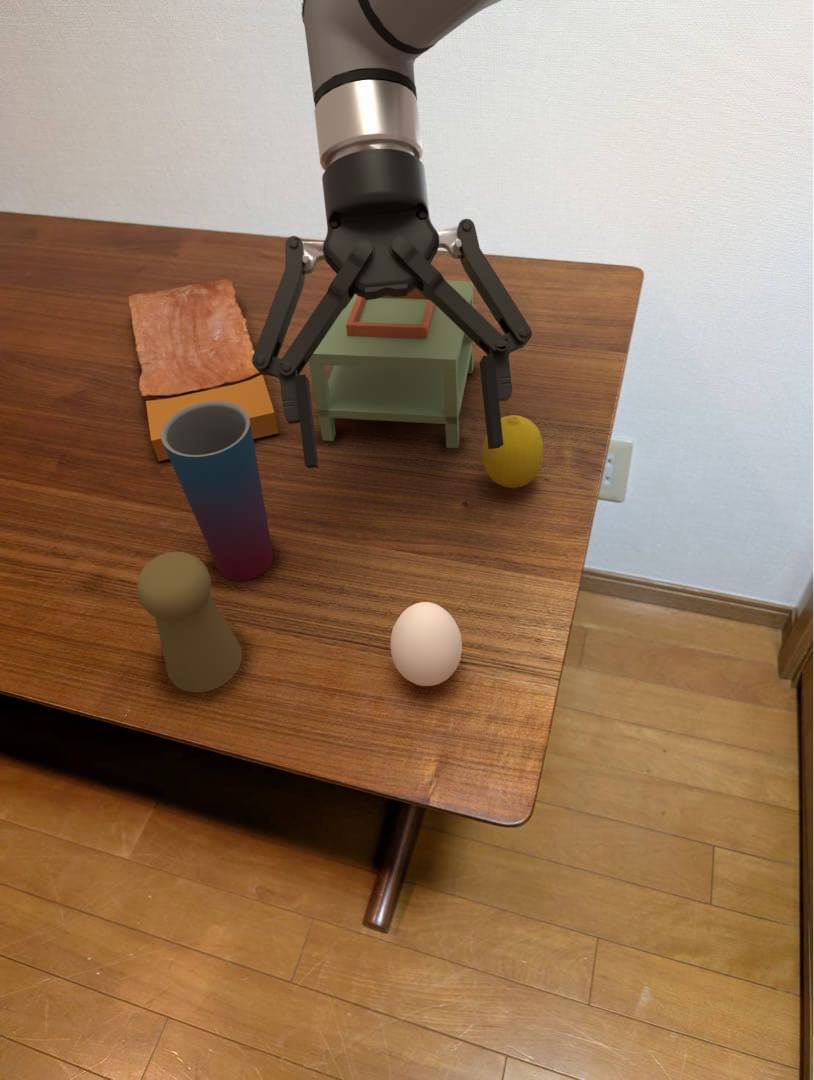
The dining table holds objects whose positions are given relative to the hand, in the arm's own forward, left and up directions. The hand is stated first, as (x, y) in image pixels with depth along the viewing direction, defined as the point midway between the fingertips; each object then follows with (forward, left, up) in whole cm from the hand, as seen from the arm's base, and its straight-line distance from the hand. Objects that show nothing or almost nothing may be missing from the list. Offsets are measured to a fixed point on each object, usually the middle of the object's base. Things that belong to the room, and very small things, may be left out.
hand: (404, 457), depth 61 cm
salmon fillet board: (+29, -29, -14) cm, 44 cm away
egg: (-3, +9, -14) cm, 17 cm away
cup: (+15, -1, -14) cm, 21 cm away
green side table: (+5, -25, -14) cm, 29 cm away
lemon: (-7, -13, -14) cm, 21 cm away
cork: (+15, +10, -14) cm, 23 cm away
